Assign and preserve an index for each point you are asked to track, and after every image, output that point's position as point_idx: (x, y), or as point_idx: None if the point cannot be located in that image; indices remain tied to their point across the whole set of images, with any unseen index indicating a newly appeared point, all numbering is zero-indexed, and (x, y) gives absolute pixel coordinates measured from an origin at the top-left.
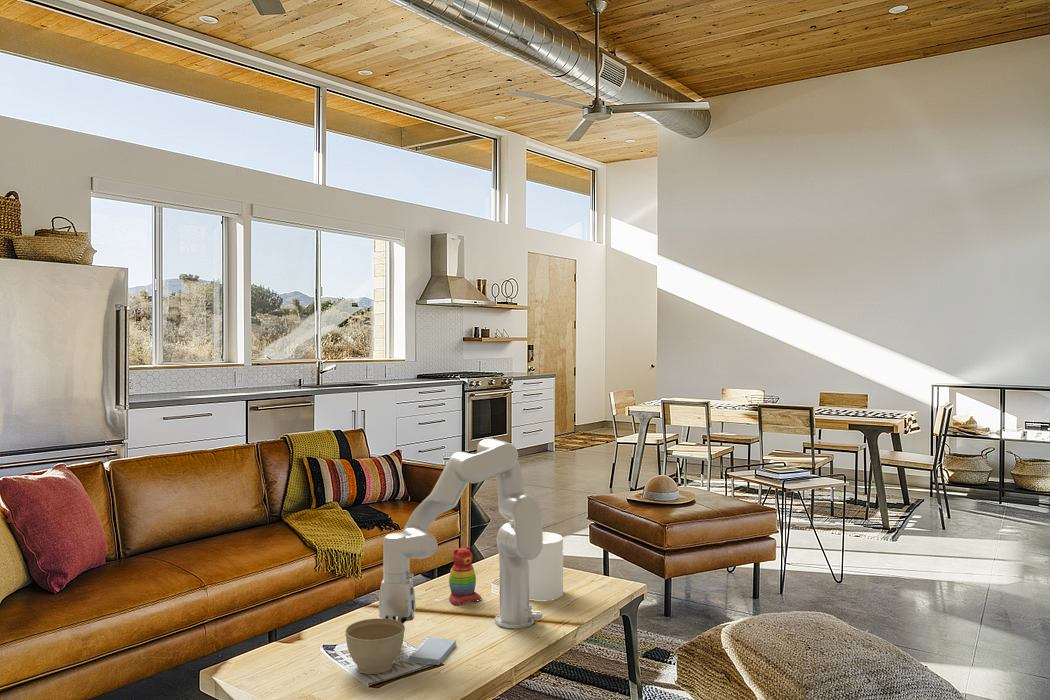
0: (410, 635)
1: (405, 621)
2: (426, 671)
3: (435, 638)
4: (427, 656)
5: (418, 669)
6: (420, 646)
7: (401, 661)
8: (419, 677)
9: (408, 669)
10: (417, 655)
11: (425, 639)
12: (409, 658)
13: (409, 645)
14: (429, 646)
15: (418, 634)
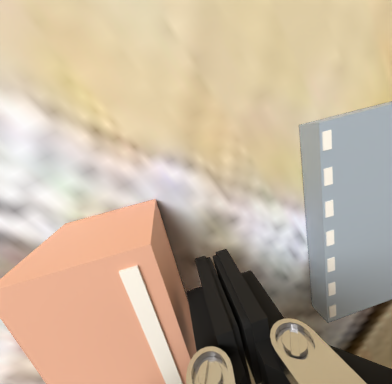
0: (165, 82)
1: (359, 366)
2: (385, 318)
3: (364, 117)
4: (389, 287)
5: (360, 323)
6: (333, 236)
7: (287, 317)
8: (379, 350)
9: (333, 338)
10: (353, 301)
11: (320, 155)
12: (323, 315)
13: (239, 198)
14: (367, 214)
15: (199, 44)
